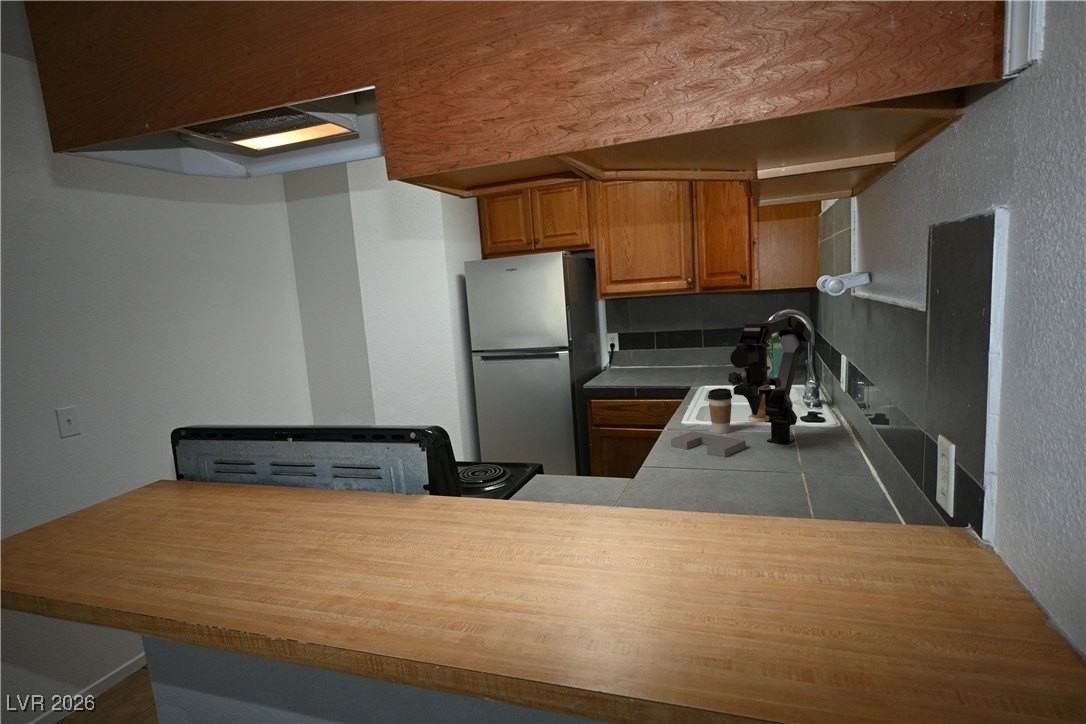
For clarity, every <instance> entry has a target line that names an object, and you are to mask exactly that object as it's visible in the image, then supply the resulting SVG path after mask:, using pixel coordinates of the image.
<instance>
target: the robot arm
mask: <svg viewBox="0 0 1086 724" xmlns="http://www.w3.org/2000/svg"><path fill="white" fill-rule="evenodd" d="M777 332H778V335H779V336H780V338H781V344H782V347H783V349H784V353H783V357H782V361H781V365H780V369H779V373H778V376H777V377H768V373H767V370H770V366H767V347H770V345H769V344H768V343H767V341H768V340H769V339H770V338H772V334H774V333H777ZM811 338H812V335H811V331H810V330H809V328H808V327H807V325H806V324H805V323H803V322H801V321H800V320H798V319H797V318H796V316H795V315H792V314H791V315H787V314H786V315H783V314H782V315H778V316H777V317H774V318H771V319H769V320H766V321H763V322H746V323H744V326H743V327H742V330H741V332H740V336H739V338H738V341H737V344H736V345H735V347H736V348H735V349H734V350H733V351H732V352H731V354H730V357H729V358H730V362H731V364H732V366H734V367H735V368H737V369H743V372H740V373H738V372H737V371H732V372H730V373H728V377H727V382H728V383H729V384H731V385H732V387H733V389H732V390H733V395H736V396H743V397H744V398H745V399H746V400H747V402H748V405H749V408H750V410H751V414H752V413H753V415H757V413H758V410H759V406H760V402H761V399H762V395H763V394H765V415H767V416H769V421H767V422H765V423H768V424H770V438H768V439H766V442H769V443H774V444H779V445H780V444H781V445H788V444H790V443H792V442H795V441H796V438H792V437H791V426H795V425H796V424H797V421H798V416H797V414H796V413H795V411H794V410H793V407H794V404H793V402H792V401H793V400H792V399H791V397H790V396H791V391H792V387H793V383H794V379H795V375H796V372H797V371H796V370H797V366H798V364H799V359H800V355H801V354H802V353H804V352H805V350H807V348H808V346H809V343H810V341H811ZM771 386H773V387H774V388H772V387H771ZM759 393H762V394H759Z"/></svg>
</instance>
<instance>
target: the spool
mask: <svg viewBox="0 0 1086 724" xmlns="http://www.w3.org/2000/svg"><path fill="white" fill-rule="evenodd" d="M759 394H762V393H759ZM747 419H748V421H749V422H752V423H766V422H767V421H769V416H767V415H765V394H763V395H762V399H761V402H760V406H759V410H758V413H757V415H753V413H752V412H751V414H750V415H748V416H747ZM767 423H768V422H767Z"/></svg>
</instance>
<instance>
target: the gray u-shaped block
mask: <svg viewBox="0 0 1086 724" xmlns="http://www.w3.org/2000/svg"><path fill="white" fill-rule="evenodd" d="M700 445H706V454H708V455H712V456H717V457H722V458H728V457H729V456H731V455H733V454H736V453H738V452H740V451H742V450H744V449H746V447H747V446H746V445H747V444H746V440H744V439H739V438H733V437H728V436H722V435H715V434H709V433H704V432H697V431H690V432H686V433H684V434H681V435H678V436H675V437H673V438H671V439H670V447H673V448H677V449H682V450H690V449H693V448H695V447H697V446H700Z"/></svg>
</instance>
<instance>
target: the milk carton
mask: <svg viewBox="0 0 1086 724" xmlns="http://www.w3.org/2000/svg"><path fill="white" fill-rule="evenodd" d="M768 344H769V345H770V347H767V366H770V370H767V373H768V377H777V376H778V373H779V369H780V365H781V361H782V357H783V353H784V349H783V347H782V344H781V338H780V336H779V335H778V332H777V333H774V334H772V338H770V339H769V342H768Z"/></svg>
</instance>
